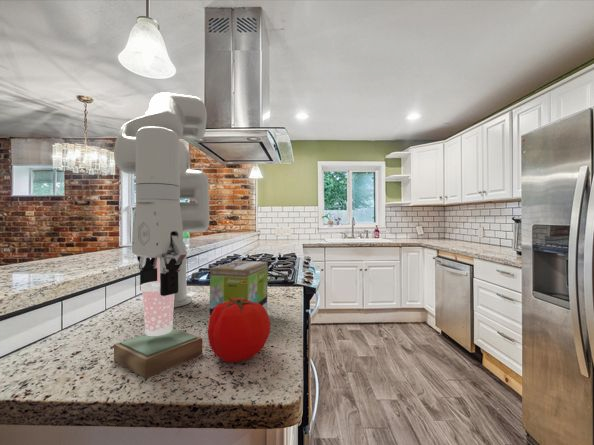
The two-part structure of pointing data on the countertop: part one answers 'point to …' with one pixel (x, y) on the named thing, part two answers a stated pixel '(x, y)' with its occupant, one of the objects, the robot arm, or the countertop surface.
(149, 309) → the beverage cup
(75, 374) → the countertop surface
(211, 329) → the tomato
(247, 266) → the tea box
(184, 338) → the podium
